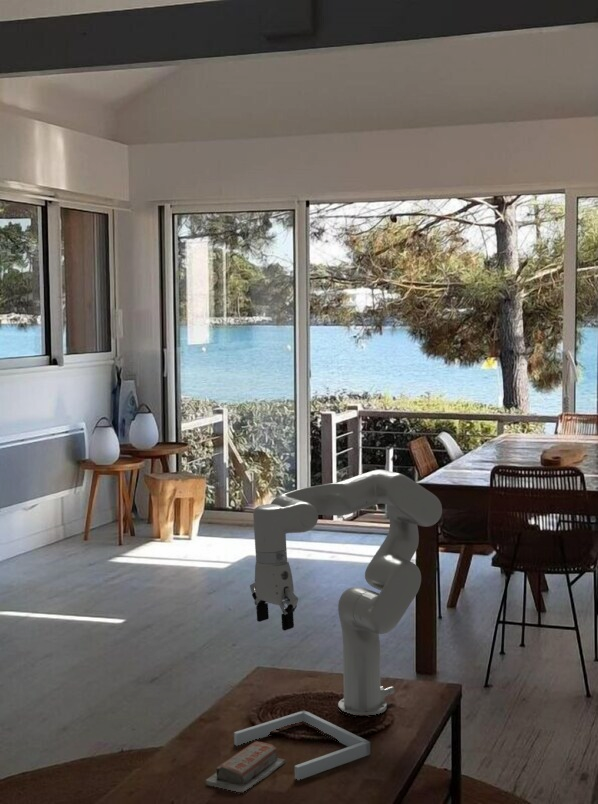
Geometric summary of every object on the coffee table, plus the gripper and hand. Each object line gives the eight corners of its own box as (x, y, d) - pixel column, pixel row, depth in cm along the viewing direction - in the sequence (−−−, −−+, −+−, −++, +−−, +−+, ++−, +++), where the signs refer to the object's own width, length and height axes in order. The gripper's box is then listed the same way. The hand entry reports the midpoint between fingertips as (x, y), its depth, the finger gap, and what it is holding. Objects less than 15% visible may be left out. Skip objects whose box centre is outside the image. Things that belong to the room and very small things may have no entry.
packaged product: (248, 736, 264) (285, 744, 259) (249, 756, 264) (285, 764, 259) (204, 766, 248) (242, 775, 243) (205, 787, 249) (242, 796, 244)
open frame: (304, 721, 283) (304, 710, 282) (370, 754, 263) (370, 741, 262) (234, 744, 270) (234, 732, 270) (298, 780, 250) (297, 767, 250)
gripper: (306, 559, 267) (310, 628, 269) (261, 547, 280) (265, 613, 282) (281, 565, 262) (286, 636, 264) (237, 553, 275) (241, 620, 278)
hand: (275, 624), depth 273 cm, fingers open, 9 cm apart
